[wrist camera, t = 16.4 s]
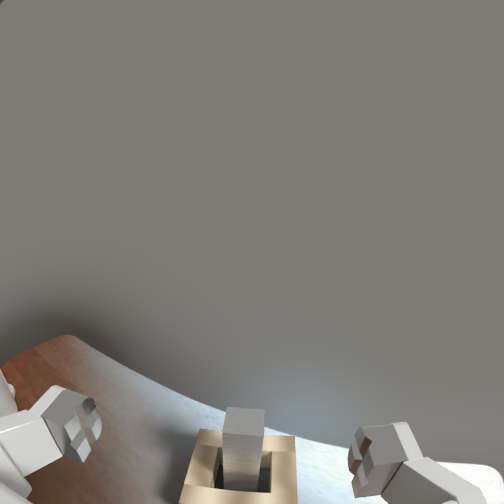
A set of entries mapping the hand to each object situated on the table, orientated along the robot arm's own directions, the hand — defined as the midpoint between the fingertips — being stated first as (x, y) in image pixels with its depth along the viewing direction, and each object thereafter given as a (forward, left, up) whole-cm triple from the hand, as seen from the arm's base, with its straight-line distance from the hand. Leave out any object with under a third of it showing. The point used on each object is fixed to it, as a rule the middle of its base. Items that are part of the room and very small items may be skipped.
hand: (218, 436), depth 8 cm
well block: (0, +16, -30) cm, 34 cm away
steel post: (0, +16, -30) cm, 34 cm away
